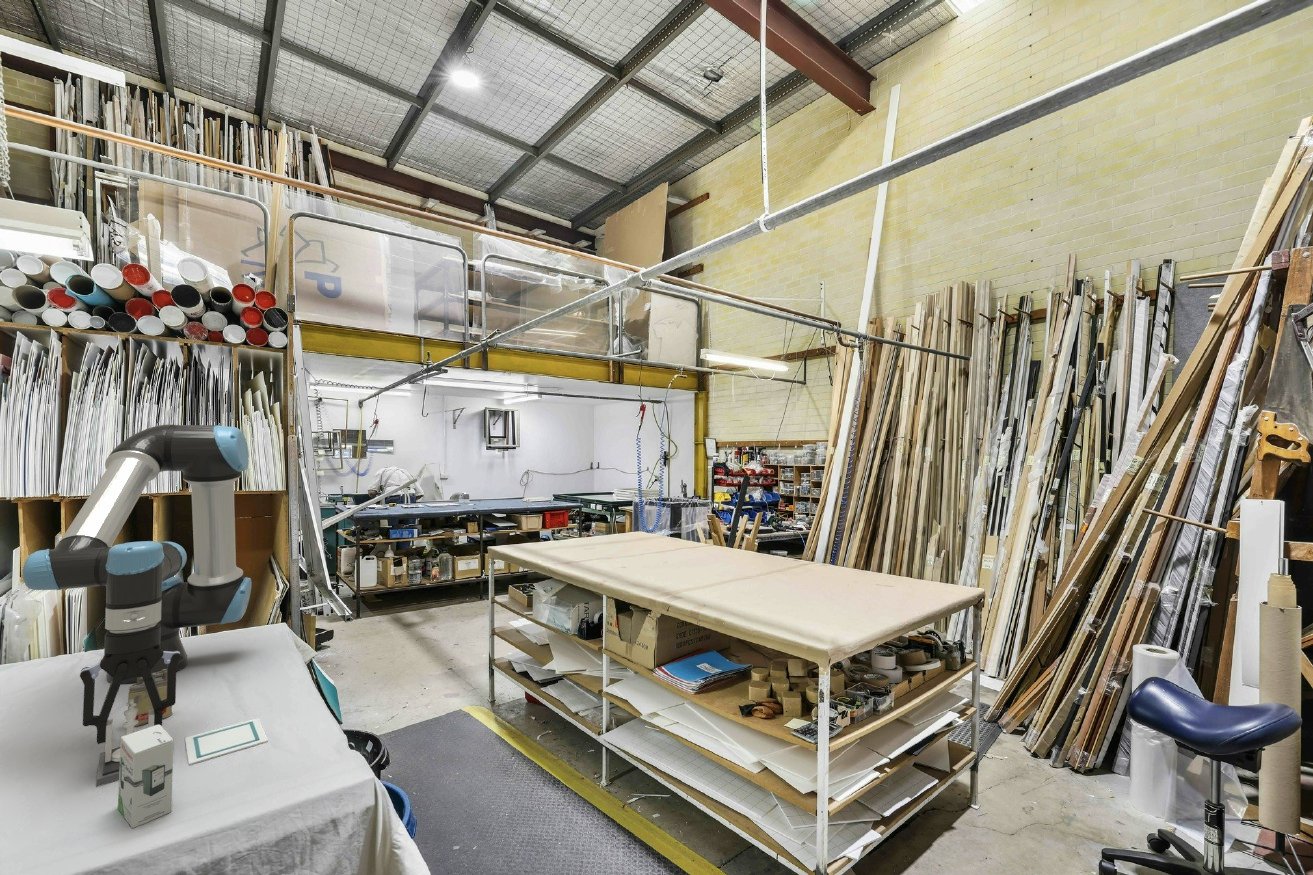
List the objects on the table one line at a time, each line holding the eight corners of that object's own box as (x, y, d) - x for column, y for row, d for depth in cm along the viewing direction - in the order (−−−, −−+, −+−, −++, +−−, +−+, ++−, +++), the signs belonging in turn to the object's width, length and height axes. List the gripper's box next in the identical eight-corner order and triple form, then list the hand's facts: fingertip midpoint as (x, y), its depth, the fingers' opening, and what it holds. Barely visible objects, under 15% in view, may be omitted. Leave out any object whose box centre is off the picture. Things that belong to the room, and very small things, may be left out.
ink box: (116, 808, 88) (118, 734, 88) (156, 792, 92) (158, 722, 92) (131, 829, 83) (133, 752, 84) (173, 811, 87) (175, 738, 88)
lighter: (128, 729, 112) (129, 680, 112) (125, 722, 114) (127, 675, 115) (173, 716, 117) (175, 670, 118) (170, 710, 120) (171, 665, 120)
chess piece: (124, 763, 97) (126, 707, 97) (103, 759, 98) (105, 704, 98) (154, 748, 102) (156, 695, 102) (134, 744, 103) (136, 692, 103)
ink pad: (99, 759, 101) (99, 750, 101) (157, 743, 107) (157, 735, 107) (96, 786, 93) (96, 777, 93) (159, 767, 99) (159, 759, 99)
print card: (184, 739, 109) (185, 737, 109) (258, 719, 117) (258, 717, 117) (188, 765, 100) (188, 763, 100) (268, 741, 108) (268, 739, 108)
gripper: (59, 643, 92) (55, 782, 91) (198, 621, 104) (194, 743, 104) (64, 632, 97) (60, 762, 97) (195, 612, 109) (192, 727, 109)
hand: (129, 752), depth 100 cm, fingers closed on chess piece, 5 cm apart
